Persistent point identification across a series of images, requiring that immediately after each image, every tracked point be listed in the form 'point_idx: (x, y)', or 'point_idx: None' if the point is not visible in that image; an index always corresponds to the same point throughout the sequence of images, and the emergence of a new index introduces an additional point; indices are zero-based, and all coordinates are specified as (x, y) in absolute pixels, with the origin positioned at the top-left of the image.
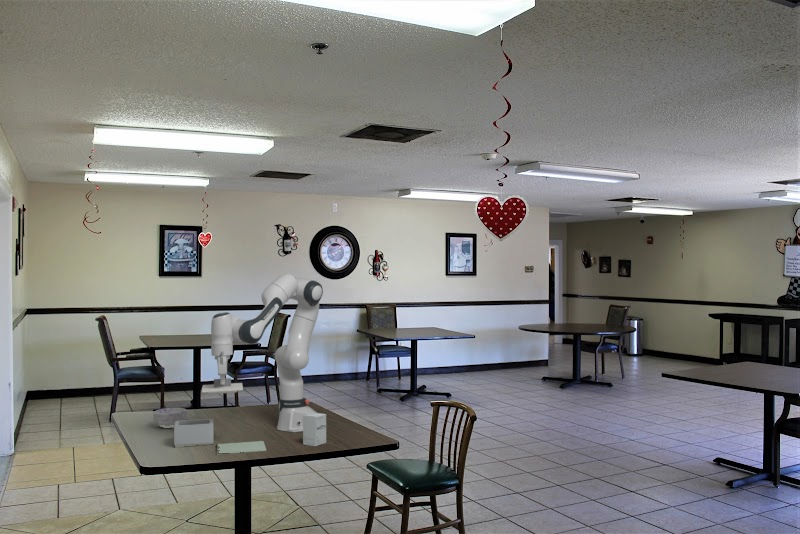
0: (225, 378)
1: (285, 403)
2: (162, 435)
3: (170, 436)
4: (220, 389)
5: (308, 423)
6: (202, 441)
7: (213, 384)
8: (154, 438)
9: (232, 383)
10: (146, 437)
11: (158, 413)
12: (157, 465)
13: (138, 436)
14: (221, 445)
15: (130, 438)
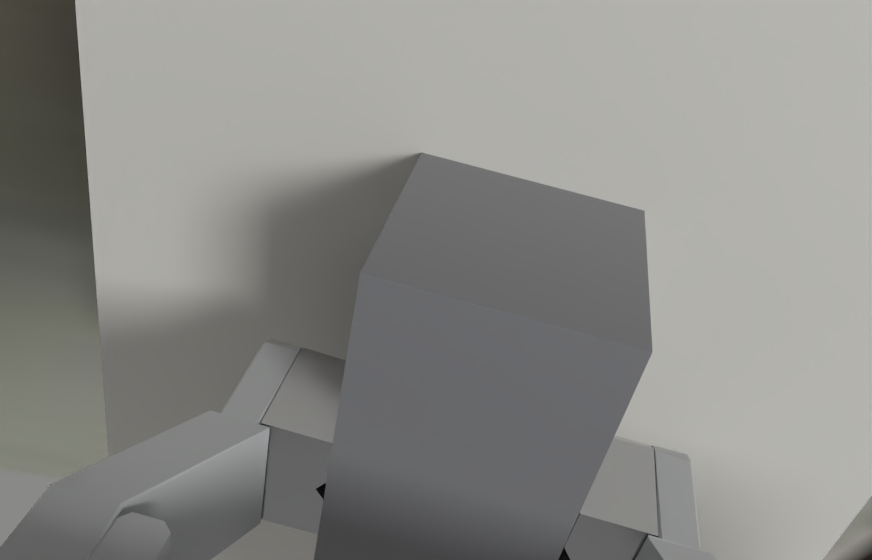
0: (339, 428)
1: None
2: (4, 313)
3: (46, 279)
4: (847, 505)
5: None
6: None
7: (113, 438)
8: (84, 370)
9: (97, 17)
10: (44, 398)
11: None
12: (859, 523)
13: (7, 425)
14: None
15: (53, 466)
